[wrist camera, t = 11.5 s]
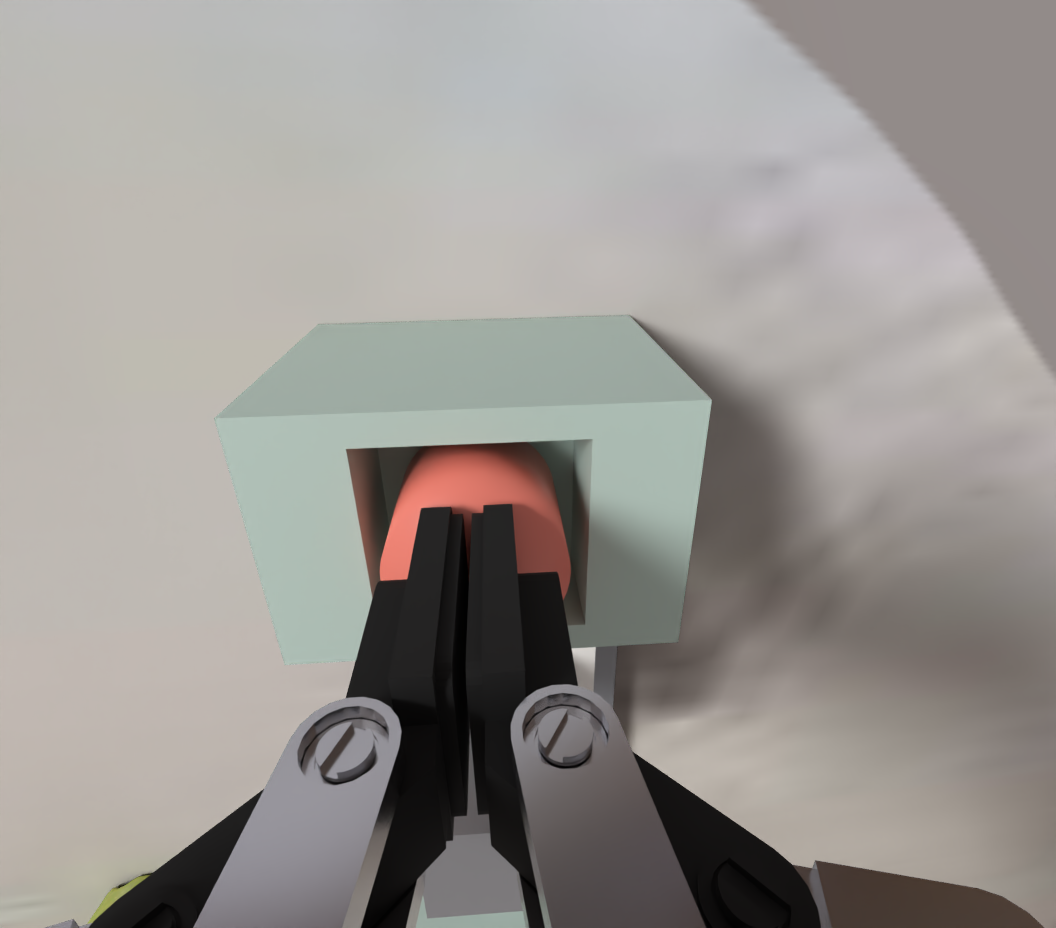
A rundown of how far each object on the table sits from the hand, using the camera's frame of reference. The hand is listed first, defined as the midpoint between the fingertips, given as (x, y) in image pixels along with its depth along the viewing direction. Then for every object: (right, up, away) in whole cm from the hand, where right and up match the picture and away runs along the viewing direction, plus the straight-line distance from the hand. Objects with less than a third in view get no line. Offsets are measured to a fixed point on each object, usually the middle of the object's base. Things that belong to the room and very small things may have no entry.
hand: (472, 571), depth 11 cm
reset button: (0, +1, +3) cm, 3 cm away
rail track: (0, -6, +12) cm, 14 cm away
